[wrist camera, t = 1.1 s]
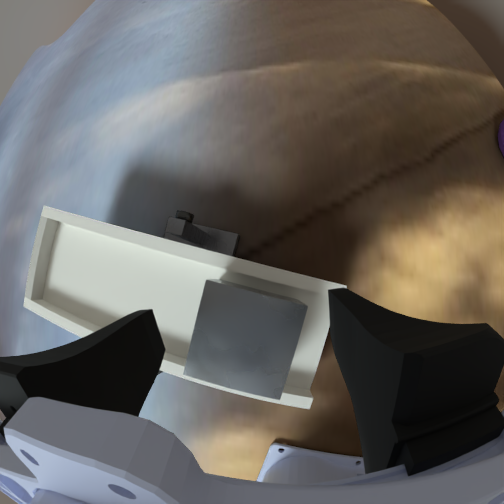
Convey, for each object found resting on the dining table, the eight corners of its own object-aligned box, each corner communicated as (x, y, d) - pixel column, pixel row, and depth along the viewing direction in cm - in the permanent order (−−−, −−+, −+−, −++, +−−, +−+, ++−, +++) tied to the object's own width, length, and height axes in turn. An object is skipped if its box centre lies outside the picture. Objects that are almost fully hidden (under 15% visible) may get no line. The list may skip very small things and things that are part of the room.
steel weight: (296, 299, 18) (308, 305, 14) (275, 372, 18) (279, 400, 13) (219, 279, 18) (205, 279, 14) (200, 353, 18) (183, 374, 14)
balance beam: (335, 284, 19) (346, 285, 17) (303, 393, 19) (309, 409, 16) (63, 212, 20) (44, 205, 18) (43, 304, 20) (23, 306, 17)
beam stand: (240, 234, 23) (223, 219, 18) (203, 378, 22) (178, 401, 17) (173, 218, 24) (142, 201, 19) (141, 353, 23) (105, 367, 18)
